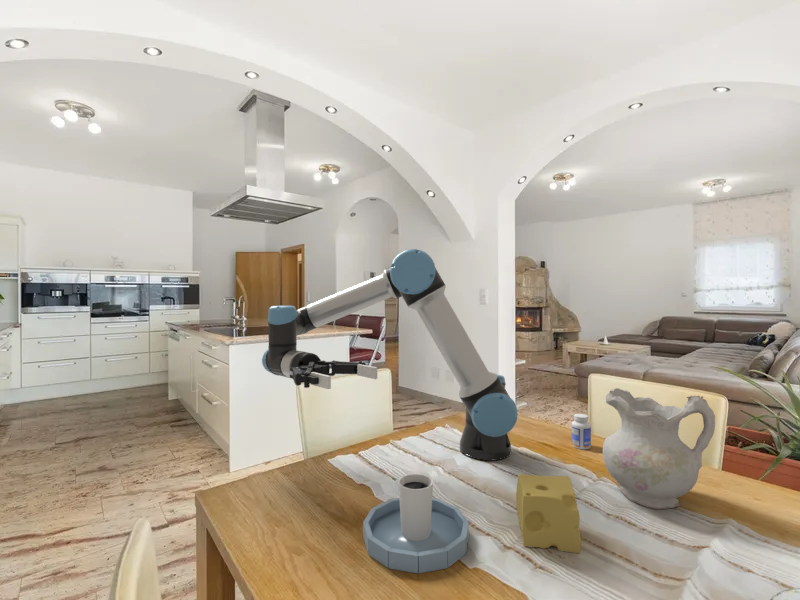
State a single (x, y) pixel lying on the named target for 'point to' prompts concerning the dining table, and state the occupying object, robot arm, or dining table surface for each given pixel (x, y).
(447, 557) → the blue round tray
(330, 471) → the dining table surface
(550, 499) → the cheese
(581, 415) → the pill bottle
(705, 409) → the ceramic pitcher
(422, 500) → the white coffee cup
